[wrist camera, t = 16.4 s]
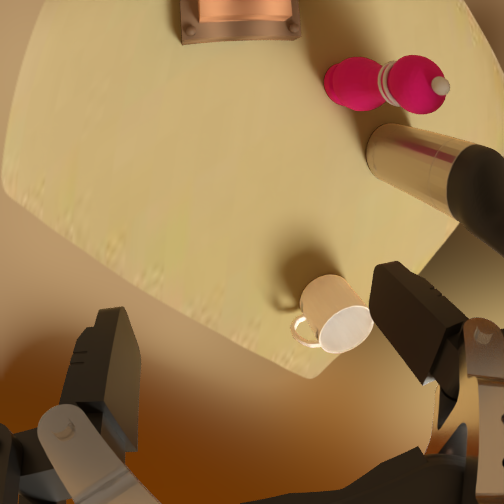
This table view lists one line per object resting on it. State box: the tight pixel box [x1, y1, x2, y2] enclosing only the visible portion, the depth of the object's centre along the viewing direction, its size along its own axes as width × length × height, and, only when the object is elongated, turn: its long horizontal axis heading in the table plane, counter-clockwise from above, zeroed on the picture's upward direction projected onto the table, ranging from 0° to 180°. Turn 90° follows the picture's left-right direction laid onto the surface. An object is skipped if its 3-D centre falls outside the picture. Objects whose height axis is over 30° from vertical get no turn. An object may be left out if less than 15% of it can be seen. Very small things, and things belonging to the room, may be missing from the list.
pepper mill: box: [324, 55, 450, 114], centre depth 29 cm, size 7×7×20 cm
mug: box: [290, 274, 374, 353], centre depth 49 cm, size 12×9×9 cm
